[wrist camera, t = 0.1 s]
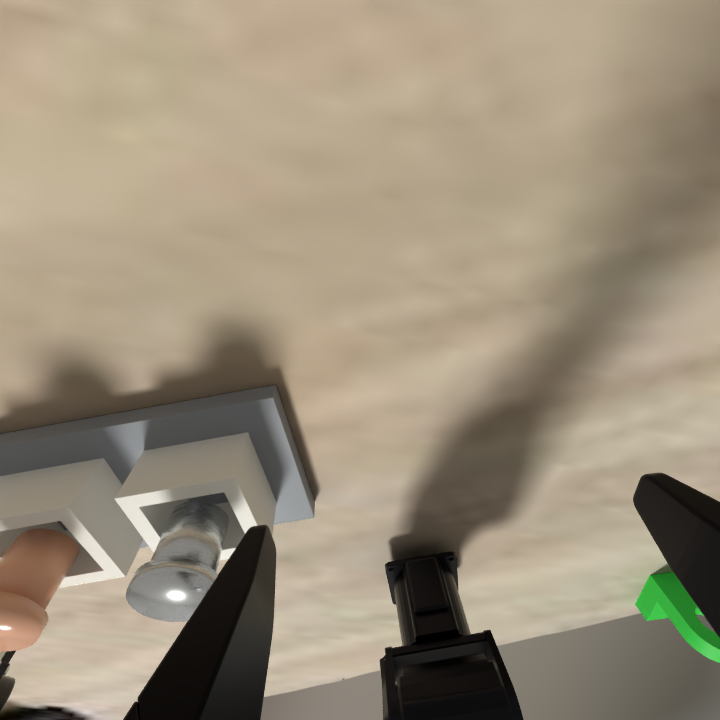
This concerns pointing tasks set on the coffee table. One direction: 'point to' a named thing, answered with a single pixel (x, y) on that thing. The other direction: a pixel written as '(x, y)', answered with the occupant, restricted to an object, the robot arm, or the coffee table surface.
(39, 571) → the plug terracotta
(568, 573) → the coffee table surface
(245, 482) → the board
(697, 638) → the mechanical part
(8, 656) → the pneumatic valve
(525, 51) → the coffee table surface
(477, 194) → the coffee table surface
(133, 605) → the plug metal
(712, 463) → the coffee table surface
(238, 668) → the robot arm
